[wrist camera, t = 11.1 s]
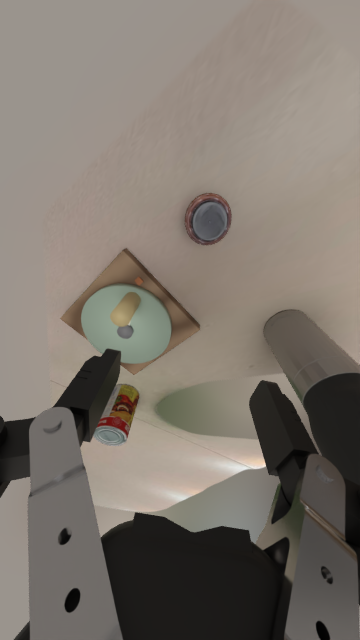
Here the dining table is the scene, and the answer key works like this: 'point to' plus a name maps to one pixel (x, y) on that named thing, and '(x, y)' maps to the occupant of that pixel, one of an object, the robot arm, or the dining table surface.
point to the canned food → (117, 416)
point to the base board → (136, 274)
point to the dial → (127, 322)
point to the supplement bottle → (208, 219)
